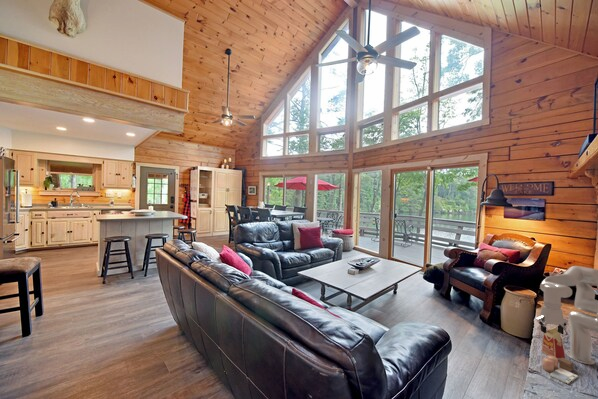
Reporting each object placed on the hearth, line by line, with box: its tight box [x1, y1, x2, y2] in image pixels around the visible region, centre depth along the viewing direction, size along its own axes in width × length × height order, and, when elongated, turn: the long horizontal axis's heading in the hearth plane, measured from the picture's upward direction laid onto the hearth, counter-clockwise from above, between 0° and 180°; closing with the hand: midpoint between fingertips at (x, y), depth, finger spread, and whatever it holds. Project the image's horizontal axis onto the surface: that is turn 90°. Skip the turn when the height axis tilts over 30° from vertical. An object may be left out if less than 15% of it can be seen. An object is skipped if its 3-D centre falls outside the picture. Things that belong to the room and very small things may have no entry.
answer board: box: [549, 367, 579, 385], centre depth 153 cm, size 14×8×1 cm, turn 116°
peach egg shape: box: [546, 355, 559, 370], centre depth 162 cm, size 5×5×6 cm
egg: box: [542, 357, 555, 373], centre depth 159 cm, size 5×5×6 cm
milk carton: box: [541, 326, 567, 360], centre depth 175 cm, size 9×9×20 cm
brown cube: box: [558, 357, 574, 373], centre depth 161 cm, size 5×5×5 cm
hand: (552, 332), depth 157 cm, fingers open, 9 cm apart
